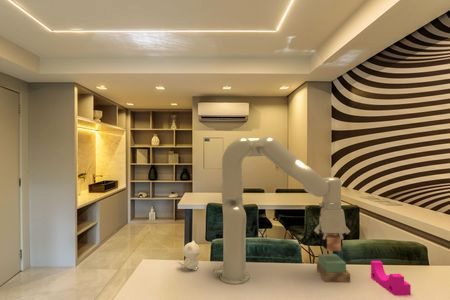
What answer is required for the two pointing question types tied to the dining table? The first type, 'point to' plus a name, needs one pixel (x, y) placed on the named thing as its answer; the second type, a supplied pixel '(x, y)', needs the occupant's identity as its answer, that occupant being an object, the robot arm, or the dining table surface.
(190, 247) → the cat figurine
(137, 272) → the dining table surface
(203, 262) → the dining table surface
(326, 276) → the tower base
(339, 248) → the terracotta cube
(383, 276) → the magenta curved bracket
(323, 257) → the tower top
